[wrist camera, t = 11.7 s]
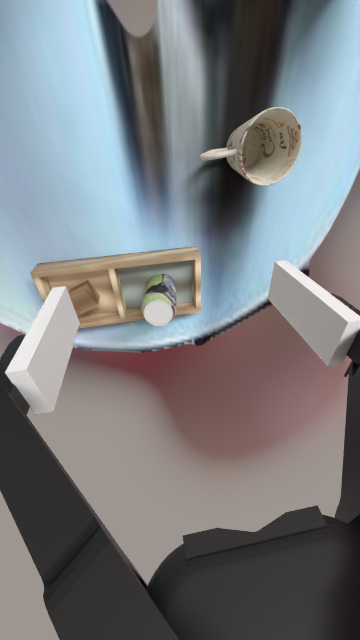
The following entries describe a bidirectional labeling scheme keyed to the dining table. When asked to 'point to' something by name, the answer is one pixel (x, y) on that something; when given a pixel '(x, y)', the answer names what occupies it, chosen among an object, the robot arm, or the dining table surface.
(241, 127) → the mug
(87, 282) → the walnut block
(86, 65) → the dining table surface
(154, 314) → the beverage can
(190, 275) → the walled box
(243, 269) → the dining table surface
